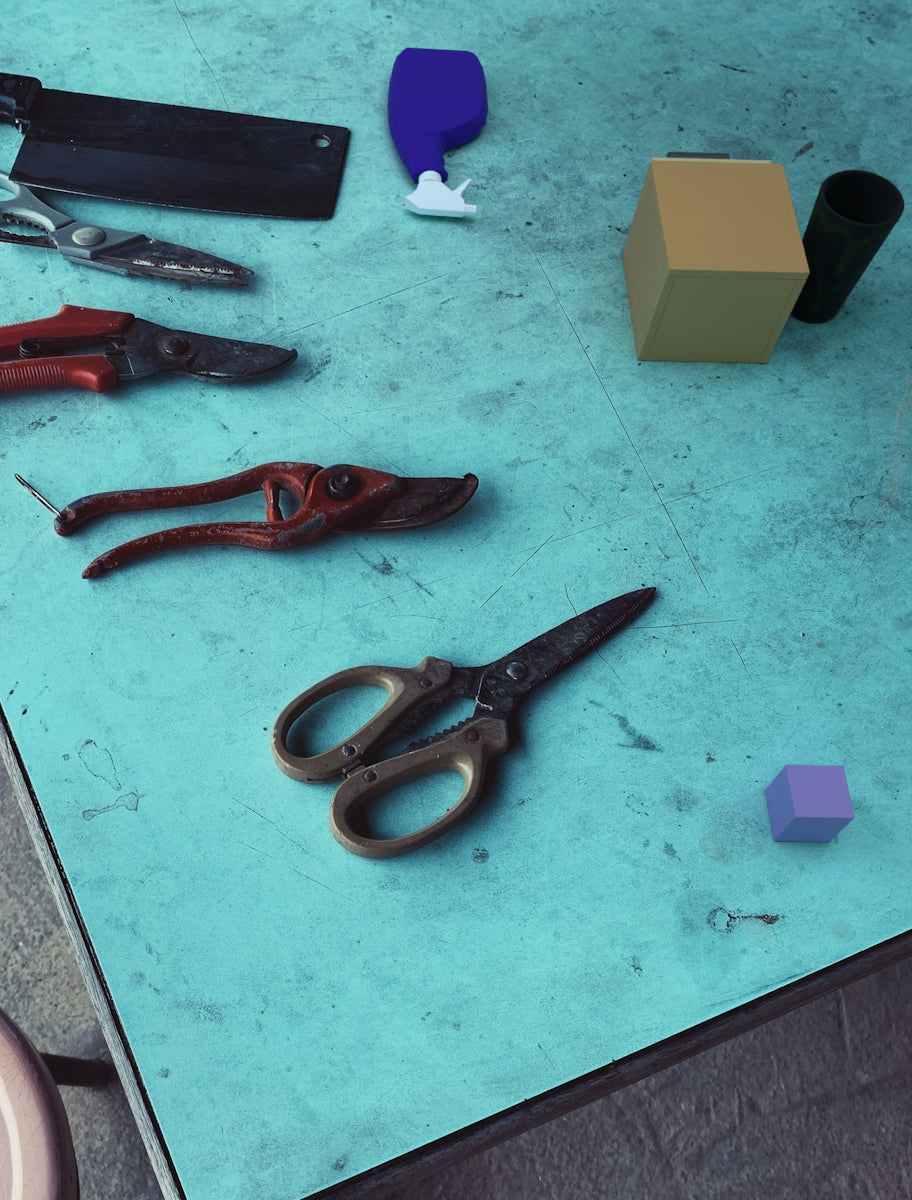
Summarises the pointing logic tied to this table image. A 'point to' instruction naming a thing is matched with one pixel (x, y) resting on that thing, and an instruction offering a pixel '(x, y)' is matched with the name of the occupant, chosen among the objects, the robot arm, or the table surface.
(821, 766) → the violet matte cube
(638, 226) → the cabinet
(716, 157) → the drawer
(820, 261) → the cup
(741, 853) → the table surface
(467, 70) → the spray bottle
